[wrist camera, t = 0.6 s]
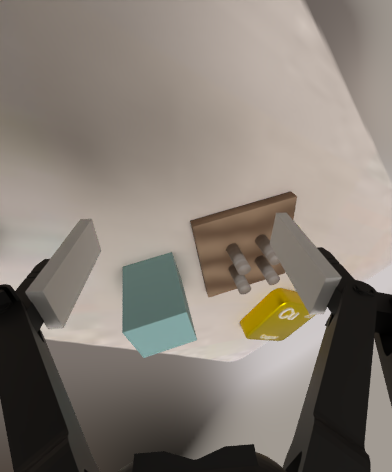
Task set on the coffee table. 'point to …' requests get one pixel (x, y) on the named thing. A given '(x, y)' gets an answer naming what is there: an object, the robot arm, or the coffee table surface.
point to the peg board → (240, 245)
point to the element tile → (275, 316)
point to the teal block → (155, 306)
